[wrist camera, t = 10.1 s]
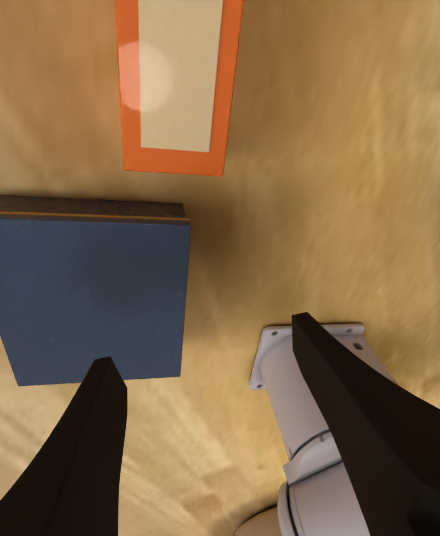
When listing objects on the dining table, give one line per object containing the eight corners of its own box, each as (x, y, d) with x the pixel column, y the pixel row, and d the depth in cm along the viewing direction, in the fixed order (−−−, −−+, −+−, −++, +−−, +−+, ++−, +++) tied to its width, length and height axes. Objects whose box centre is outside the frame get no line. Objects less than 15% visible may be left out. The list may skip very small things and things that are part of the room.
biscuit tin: (186, 200, 20) (191, 224, 17) (177, 342, 27) (180, 377, 24) (-11, 190, 18) (-43, 217, 15) (34, 347, 24) (17, 386, 22)
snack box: (121, -83, 13) (108, -130, 10) (232, -59, 14) (255, -95, 10) (129, 148, 18) (123, 171, 14) (211, 155, 19) (223, 177, 15)
